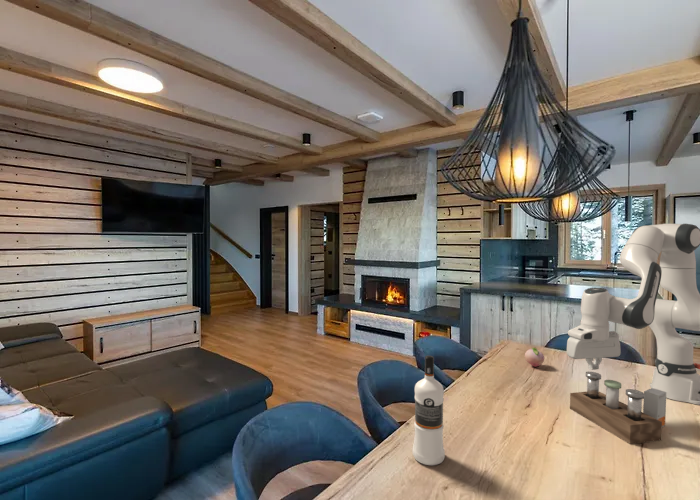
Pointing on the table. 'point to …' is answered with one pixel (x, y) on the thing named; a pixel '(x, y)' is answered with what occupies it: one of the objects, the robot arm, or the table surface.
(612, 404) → the plug mid
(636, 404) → the plug
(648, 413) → the skincare box
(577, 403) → the block
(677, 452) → the table surface
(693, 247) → the robot arm
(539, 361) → the decorative fruit
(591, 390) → the plug
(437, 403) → the vodka
